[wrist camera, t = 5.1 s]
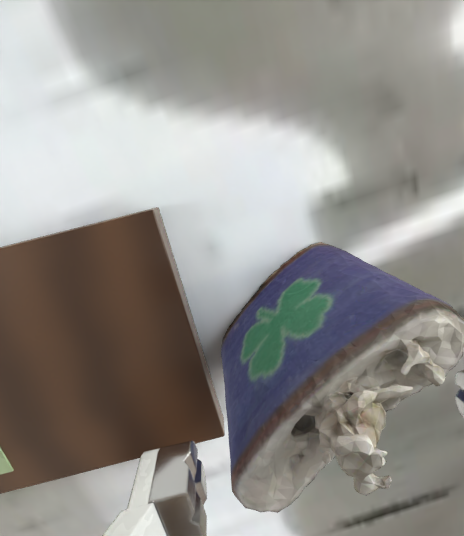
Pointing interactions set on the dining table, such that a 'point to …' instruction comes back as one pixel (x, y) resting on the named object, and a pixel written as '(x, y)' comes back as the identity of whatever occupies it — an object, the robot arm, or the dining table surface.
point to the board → (97, 352)
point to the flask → (326, 371)
